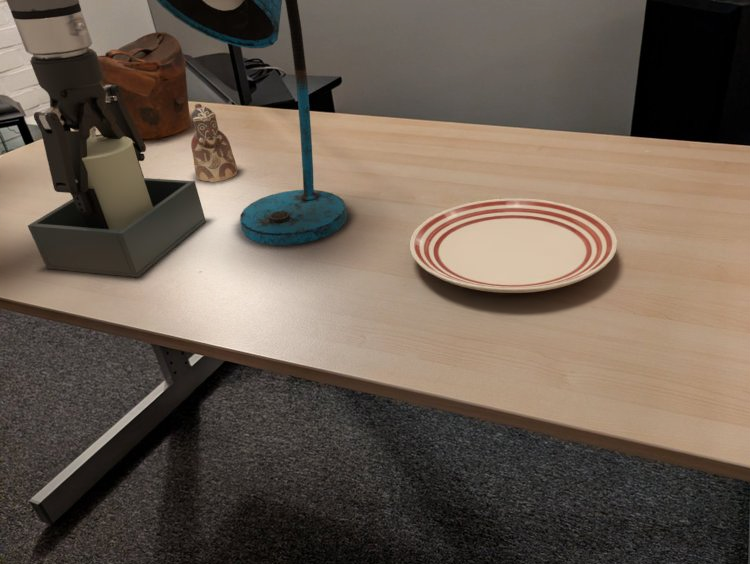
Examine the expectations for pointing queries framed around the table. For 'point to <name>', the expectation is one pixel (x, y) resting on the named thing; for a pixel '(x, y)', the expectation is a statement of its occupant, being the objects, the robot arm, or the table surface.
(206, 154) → the figurine
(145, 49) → the case
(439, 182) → the table surface
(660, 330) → the table surface
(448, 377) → the table surface
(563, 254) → the dinner plate
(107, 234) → the bus tub
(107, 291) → the table surface
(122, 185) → the can
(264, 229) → the desk lamp
